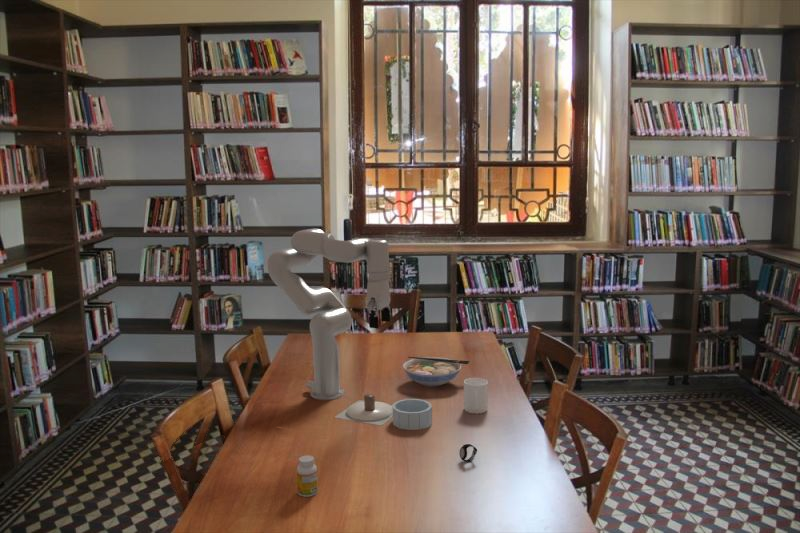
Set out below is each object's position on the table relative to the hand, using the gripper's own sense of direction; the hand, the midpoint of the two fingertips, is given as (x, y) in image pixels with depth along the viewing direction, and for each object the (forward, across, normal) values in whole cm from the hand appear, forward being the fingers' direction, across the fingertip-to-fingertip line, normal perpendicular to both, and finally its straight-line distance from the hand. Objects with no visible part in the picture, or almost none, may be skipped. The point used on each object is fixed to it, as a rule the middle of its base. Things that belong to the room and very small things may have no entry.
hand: (380, 324), depth 244 cm
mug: (+31, -9, +31) cm, 45 cm away
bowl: (+31, +9, +15) cm, 35 cm away
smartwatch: (+31, +30, +41) cm, 60 cm away
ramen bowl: (+31, -30, +7) cm, 44 cm away
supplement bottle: (+31, +64, +7) cm, 71 cm away
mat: (+30, +6, -2) cm, 31 cm away
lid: (+30, +6, -2) cm, 31 cm away
